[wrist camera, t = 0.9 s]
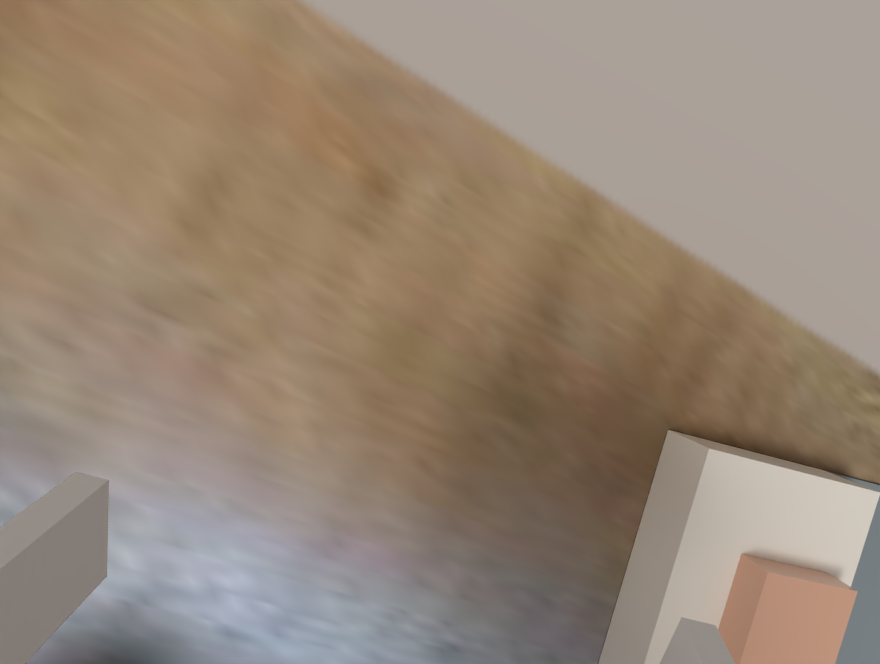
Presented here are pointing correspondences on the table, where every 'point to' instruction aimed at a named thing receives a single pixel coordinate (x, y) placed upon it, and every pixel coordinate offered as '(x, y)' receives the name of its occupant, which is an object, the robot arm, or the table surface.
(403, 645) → the table surface
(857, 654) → the mat
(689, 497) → the plate
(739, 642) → the tile
